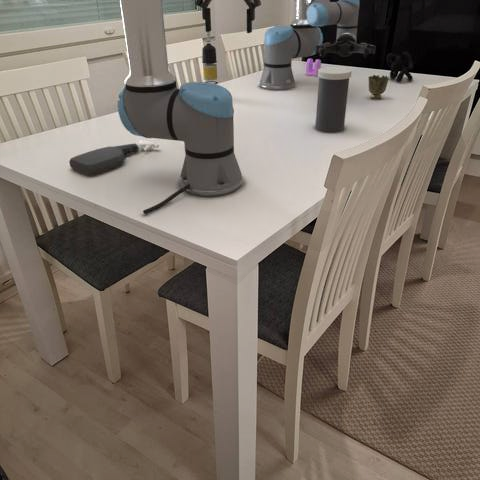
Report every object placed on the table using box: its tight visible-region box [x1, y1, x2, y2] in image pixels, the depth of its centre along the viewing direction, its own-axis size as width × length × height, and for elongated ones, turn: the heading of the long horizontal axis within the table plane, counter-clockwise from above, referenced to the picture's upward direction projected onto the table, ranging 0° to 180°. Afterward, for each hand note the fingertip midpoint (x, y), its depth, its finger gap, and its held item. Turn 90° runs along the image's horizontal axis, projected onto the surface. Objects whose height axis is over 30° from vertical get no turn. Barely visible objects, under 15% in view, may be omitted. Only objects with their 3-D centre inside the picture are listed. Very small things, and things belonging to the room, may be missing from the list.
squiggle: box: [385, 51, 414, 83], centre depth 198 cm, size 11×10×15 cm
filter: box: [201, 31, 219, 85], centre depth 171 cm, size 6×6×30 cm
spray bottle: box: [68, 139, 160, 177], centre depth 124 cm, size 3×11×24 cm
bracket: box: [305, 58, 324, 77], centre depth 214 cm, size 13×6×7 cm, turn 143°
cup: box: [368, 74, 390, 99], centre depth 173 cm, size 8×7×8 cm
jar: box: [314, 77, 350, 134], centre depth 141 cm, size 9×9×18 cm
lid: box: [317, 66, 353, 80], centre depth 136 cm, size 10×10×2 cm
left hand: (228, 32), depth 139 cm, fingers open, 13 cm apart
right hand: (344, 53), depth 147 cm, fingers open, 13 cm apart
